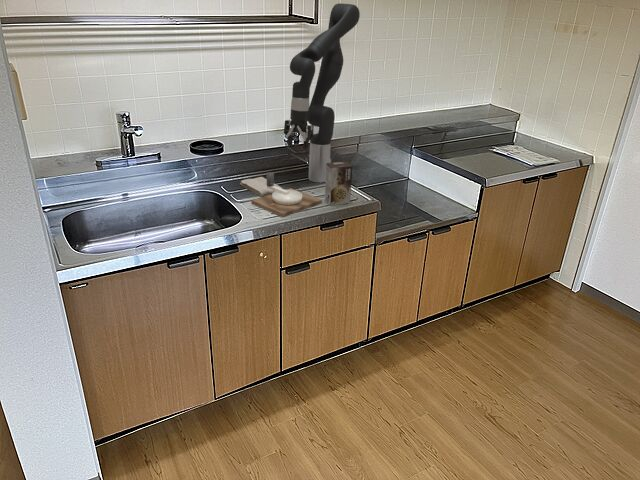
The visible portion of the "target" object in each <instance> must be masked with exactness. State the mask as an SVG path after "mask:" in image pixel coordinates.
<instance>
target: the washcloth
mask: <svg viewBox="0 0 640 480" xmlns="http://www.w3.org/2000/svg"><path fill="white" fill-rule="evenodd" d="M239 185H241V186H242V188H244V189H246V190H248V191H250V192H251V193H253V194H255V195H256V196H258V197H264V196H267V195H270V194H272V193H273V192H275V191H274V190H271V189H268V188H267V178H265V177H263V176H259V177H255V178H247V179H243V180H240V183H239ZM274 186H276V187H279V188H281V189H283V187H281V186H280V185H278V184H276V183H274Z"/></svg>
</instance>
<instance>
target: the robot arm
mask: <svg viewBox="0 0 640 480" xmlns="http://www.w3.org/2000/svg"><path fill="white" fill-rule="evenodd" d="M360 16H361V13H360V9H359V7H358V6H357V5H355V4H351V3H340V2H339V3H335V4H334V5H333V7H332V8H331V11H330V15H329V20H328V28H327V29H326V30H324V31H323V32H321V33H320V34H318V35H317V36H316V37H315V38H314V39H313V40H312V41H311V42H310V44H309V45H308V46H307V47H306V48H305V49H303V50H301V51H300V52H298V53H297V54H295V56H294V57H292V59H291V61H290V62H289V63H290V64H289V70H290V72H291V73H292V74H293V75H294V76H295V75H296V76H299V77H300V78H299V81H295V82H293V84H292V91H291V93H292V94H291V95H292V97H291V102H290V119H286V120H284V125H283V126H284V127H283V134H284V135H285V136H286V137H287V141H286V142H287V146H289V147H290V146H292V145H293V139H294V138H293V136H294V134H298V135H300V136H301V137H302V139H303V143H302V144H303V145H302V146H303V147H302V148H303V151H304V150H308V149H309V159H308V160H309V161H308V180H309V181H311V182H314V183H326V164H327V163H332V159H331V146H332V145H331V143H332V138H333V134H334V128H335V111H334V109H333V108H332V107H330V106H326V105H325V101H326V99H327V96H328V95H329V94H328V93H329V92H330V91H331V89H332V88H333V87H334V86H336V84H337V83H338V81H339V79H340V78H341V75H342V70H343V65H344V55H343V50H342V47H341V41H340V40H341V38H343V37H344V36H346V34H347V33H348V32H350V31H351V30H353V29H354V28H355V26H356V25H357V24H358V23H359V20H360V18H361V17H360ZM320 60H321V61H320ZM319 61H320V62H321V63H320V66H319V72H318V76H317V80H316V85H315V88H314V92H313V95H312V98H311V101H310V94H311V93H310V91H311V90H310V89H311V85H312V83H313V79H314V77H315V74H316V62H317V63H318V62H319ZM314 127H316V128H318V132H317V133H314Z"/></svg>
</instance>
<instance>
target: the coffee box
mask: <svg viewBox="0 0 640 480" xmlns="http://www.w3.org/2000/svg"><path fill="white" fill-rule="evenodd" d="M352 178H353V165H352V164H350V162H348V161H334V162H331V163H327V164H326V182H325V186H324V201H325V202H326V203H327V204H328V205H329V206H338V205H346V203H348V204H350V203H351V194H352Z"/></svg>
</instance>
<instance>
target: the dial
mask: <svg viewBox="0 0 640 480" xmlns="http://www.w3.org/2000/svg"><path fill="white" fill-rule="evenodd" d="M266 179H267V188H268V189H271V190H274V191H275V192H273V193H272V200H273V201H274V202H275V203H278V204H282V205H294V204H298V203H300V202H301V201H302V194H301V193H300V192H301V191H300V192H298V191H299V190H297V191H295V190H296V189H294V190H286V189H284V188H282V187H281V188H282V189H281V188H279V187H276V186H274V184H275V173H273V172H266Z"/></svg>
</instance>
